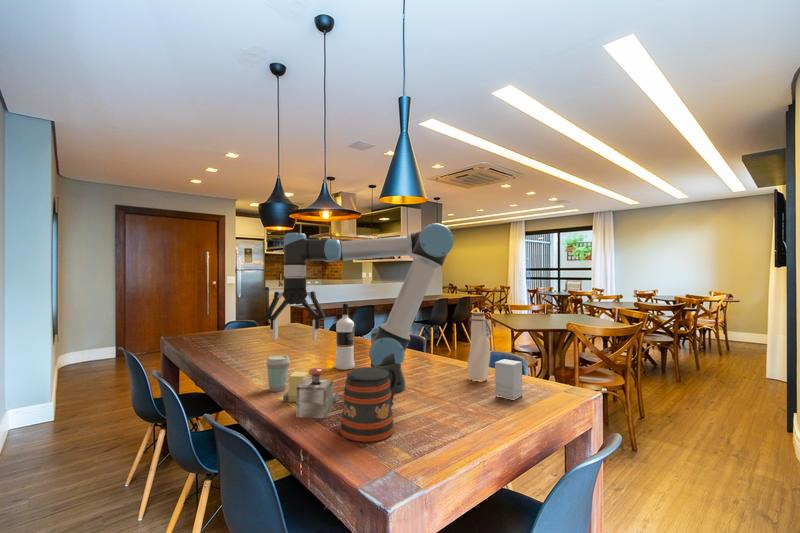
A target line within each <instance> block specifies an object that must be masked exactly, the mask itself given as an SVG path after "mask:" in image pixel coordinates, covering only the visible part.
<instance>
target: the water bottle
mask: <svg viewBox="0 0 800 533" xmlns="http://www.w3.org/2000/svg"><path fill="white" fill-rule="evenodd" d="M469 321H471V324H470V347H469V348H470V349H469V350H470V351H469V355H468V359H467V371H468V379H469V378H470V379H473V380H485V379H487V378H488V377H489V370H490V367H489V366H490V362H491V345H490V339H489V338H491V337H492V331H491V322H490V319H487V318H486V315H485V312H482V311H474V312H473V311H472V315H471V317H469ZM487 380H488V379H487Z"/></svg>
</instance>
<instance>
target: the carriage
mask: <svg viewBox="0 0 800 533" xmlns="http://www.w3.org/2000/svg"><path fill="white" fill-rule="evenodd" d="M309 375H310V374H309V371H293V372H292V373H291V374H290V375H288V391H289V401H288V402H289V403H291V402H292V403H293V402H296V403H297V387H298V386H299V385H300V384H301V383H302V382H303V381H304V380H305V379H310V377H309Z"/></svg>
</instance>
